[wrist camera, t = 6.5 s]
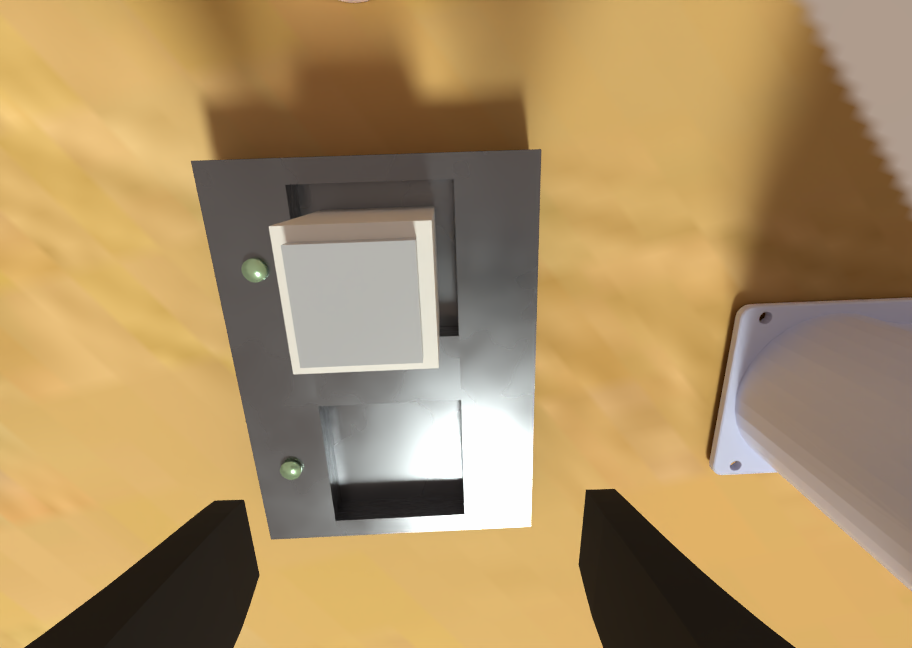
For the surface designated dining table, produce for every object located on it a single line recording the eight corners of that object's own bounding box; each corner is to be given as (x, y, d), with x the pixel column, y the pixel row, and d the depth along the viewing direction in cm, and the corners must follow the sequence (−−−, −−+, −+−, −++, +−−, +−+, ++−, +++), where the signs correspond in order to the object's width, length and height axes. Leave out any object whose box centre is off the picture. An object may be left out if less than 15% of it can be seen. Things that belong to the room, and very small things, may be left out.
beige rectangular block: (434, 206, 16) (431, 222, 10) (439, 313, 17) (438, 376, 12) (320, 210, 16) (260, 228, 10) (334, 317, 17) (287, 382, 12)
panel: (529, 152, 16) (542, 149, 14) (522, 494, 21) (531, 530, 19) (220, 162, 16) (187, 160, 14) (286, 505, 21) (269, 543, 19)
